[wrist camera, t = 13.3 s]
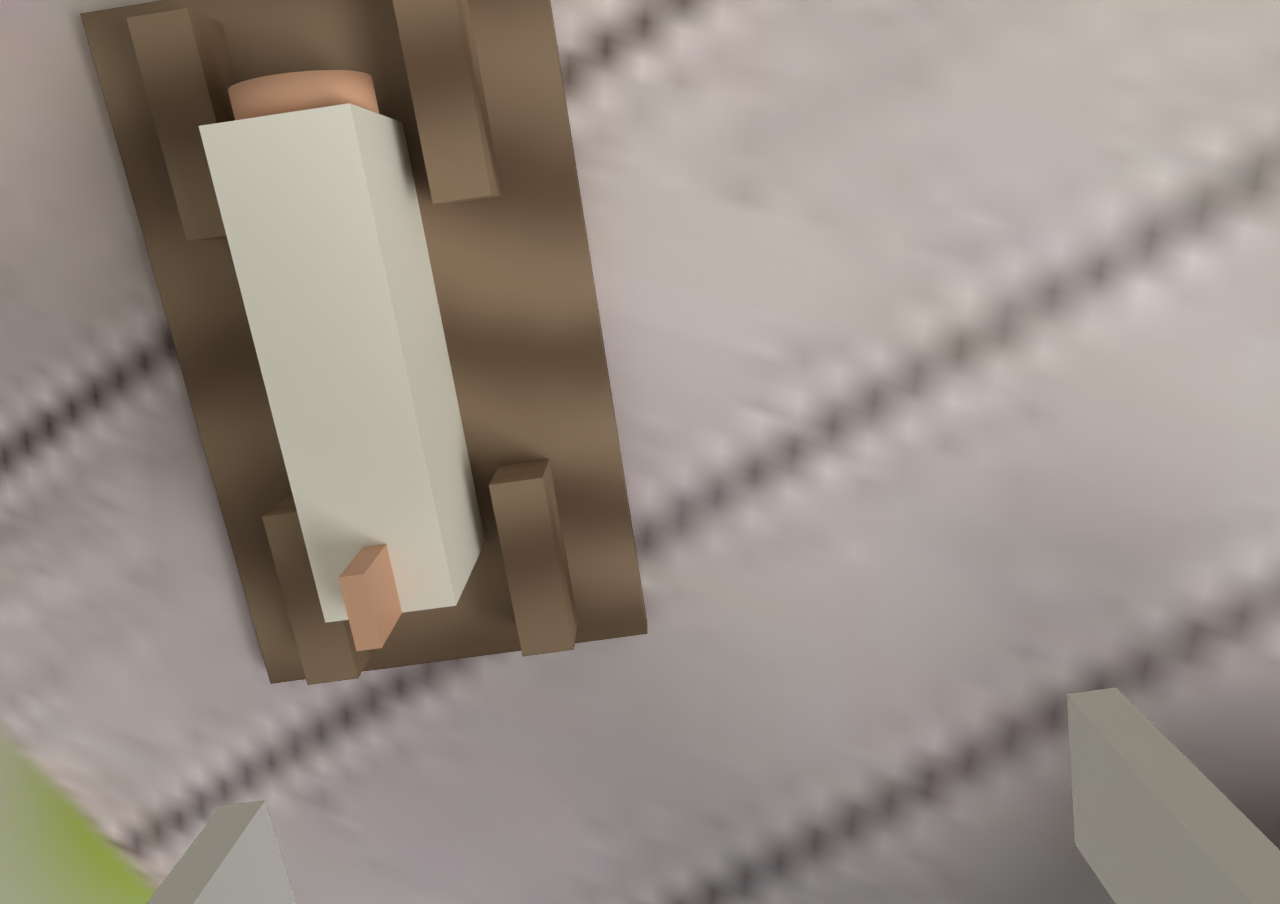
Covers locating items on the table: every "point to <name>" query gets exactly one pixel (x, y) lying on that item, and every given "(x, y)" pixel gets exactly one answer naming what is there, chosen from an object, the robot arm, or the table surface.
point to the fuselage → (348, 343)
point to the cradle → (466, 292)
